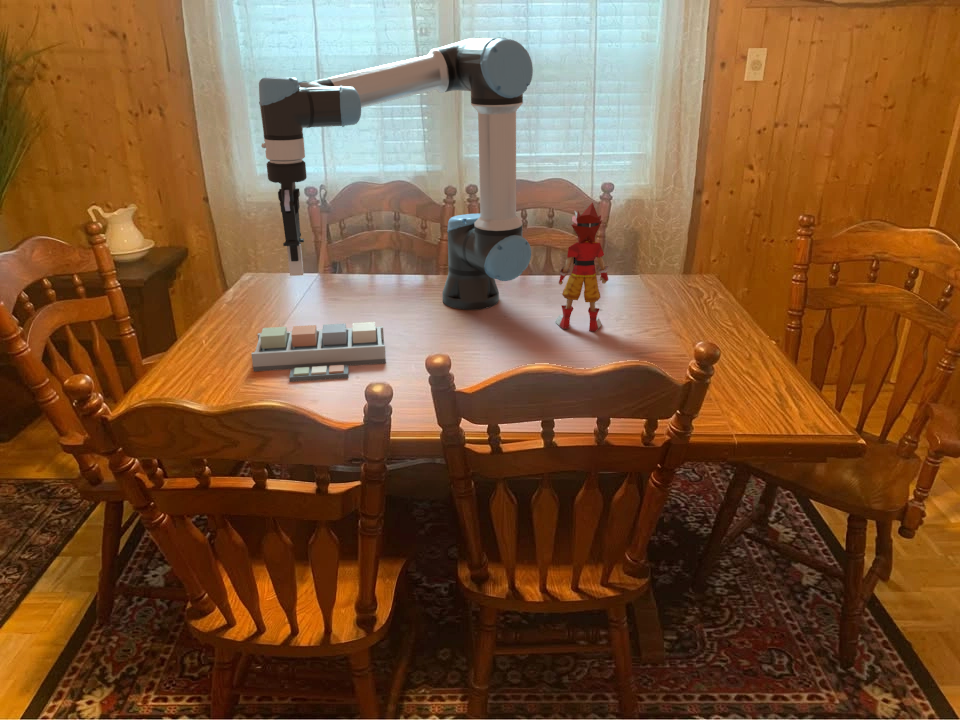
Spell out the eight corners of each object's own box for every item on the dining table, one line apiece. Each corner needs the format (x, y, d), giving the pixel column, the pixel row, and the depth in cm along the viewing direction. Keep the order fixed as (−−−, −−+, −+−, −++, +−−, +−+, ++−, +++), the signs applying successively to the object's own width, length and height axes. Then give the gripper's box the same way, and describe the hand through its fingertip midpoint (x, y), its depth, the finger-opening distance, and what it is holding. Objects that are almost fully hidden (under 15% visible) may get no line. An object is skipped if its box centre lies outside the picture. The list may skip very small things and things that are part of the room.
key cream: (375, 333, 166) (375, 321, 165) (376, 341, 162) (375, 330, 161) (353, 334, 166) (352, 323, 164) (353, 343, 161) (352, 331, 160)
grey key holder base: (383, 341, 171) (382, 326, 170) (385, 363, 160) (384, 346, 159) (260, 349, 167) (258, 332, 166) (253, 371, 157) (251, 354, 155)
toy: (599, 318, 185) (608, 199, 173) (608, 332, 177) (618, 208, 164) (552, 319, 184) (558, 200, 172) (559, 333, 176) (565, 209, 164)
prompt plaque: (348, 369, 158) (348, 363, 157) (348, 377, 154) (347, 371, 153) (291, 372, 156) (290, 366, 155) (289, 381, 152) (289, 375, 151)
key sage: (287, 338, 164) (286, 326, 162) (285, 347, 159) (284, 335, 158) (264, 339, 163) (262, 327, 162) (261, 348, 158) (260, 336, 157)
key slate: (346, 335, 165) (345, 323, 164) (346, 343, 161) (345, 331, 160) (324, 336, 165) (323, 324, 164) (323, 345, 160) (322, 333, 159)
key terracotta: (317, 336, 164) (316, 325, 163) (316, 345, 160) (315, 333, 159) (294, 337, 164) (293, 326, 163) (292, 346, 159) (291, 334, 158)
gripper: (269, 155, 151) (281, 266, 161) (262, 166, 139) (275, 284, 149) (307, 154, 152) (316, 264, 162) (302, 165, 140) (313, 283, 150)
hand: (296, 274), depth 155 cm, fingers closed
